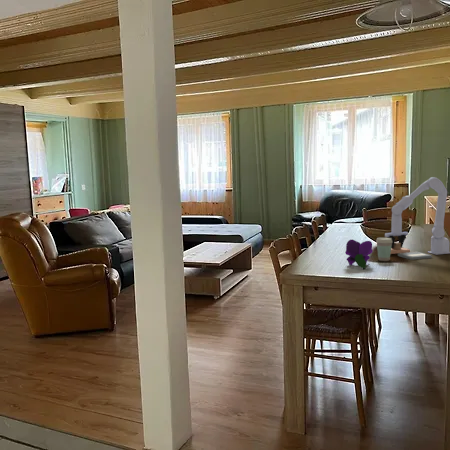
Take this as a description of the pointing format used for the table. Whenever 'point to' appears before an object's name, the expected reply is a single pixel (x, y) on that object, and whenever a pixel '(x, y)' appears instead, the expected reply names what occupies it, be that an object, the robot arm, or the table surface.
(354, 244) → the flower
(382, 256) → the coffee cup
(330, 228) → the table surface
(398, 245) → the pink panel with block
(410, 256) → the ticket board
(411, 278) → the table surface
